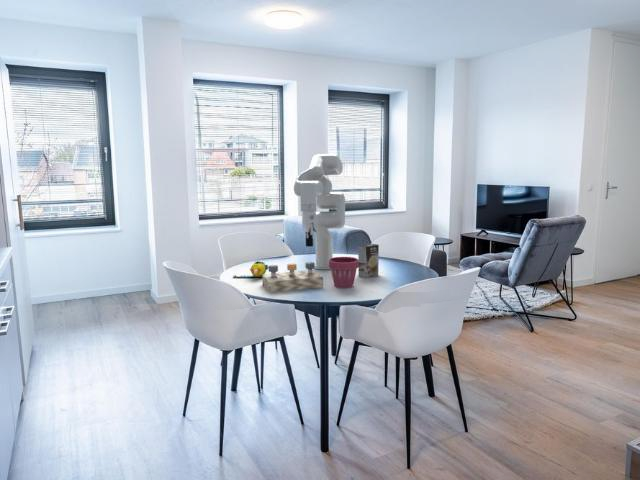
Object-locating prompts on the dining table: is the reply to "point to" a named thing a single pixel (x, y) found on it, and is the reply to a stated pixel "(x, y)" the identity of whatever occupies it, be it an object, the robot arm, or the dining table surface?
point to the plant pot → (343, 271)
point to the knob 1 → (273, 270)
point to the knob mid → (291, 268)
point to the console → (292, 281)
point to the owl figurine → (258, 269)
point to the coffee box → (368, 260)
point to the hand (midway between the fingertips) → (309, 246)
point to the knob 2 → (310, 267)
